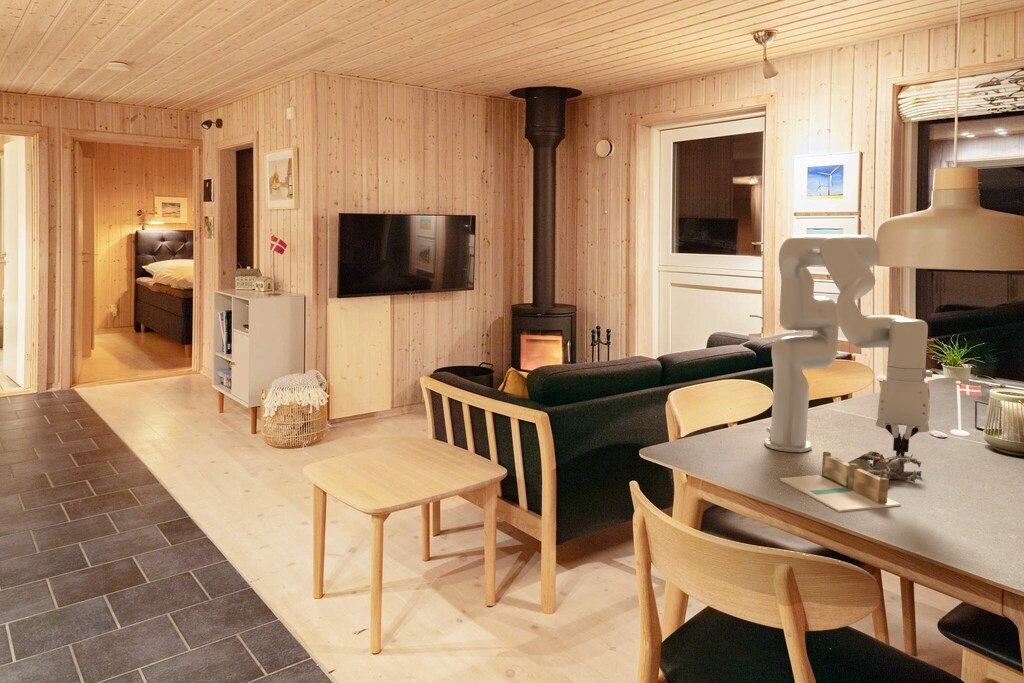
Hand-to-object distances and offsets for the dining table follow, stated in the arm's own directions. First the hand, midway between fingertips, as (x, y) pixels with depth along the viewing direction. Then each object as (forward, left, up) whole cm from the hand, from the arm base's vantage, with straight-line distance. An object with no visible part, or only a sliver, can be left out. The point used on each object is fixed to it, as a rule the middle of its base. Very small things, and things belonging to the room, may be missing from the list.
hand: (900, 454), depth 171 cm
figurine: (-17, +10, -11) cm, 22 cm away
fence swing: (-2, -5, -10) cm, 12 cm away
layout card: (-8, -9, -11) cm, 17 cm away
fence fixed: (-13, -5, -11) cm, 18 cm away
